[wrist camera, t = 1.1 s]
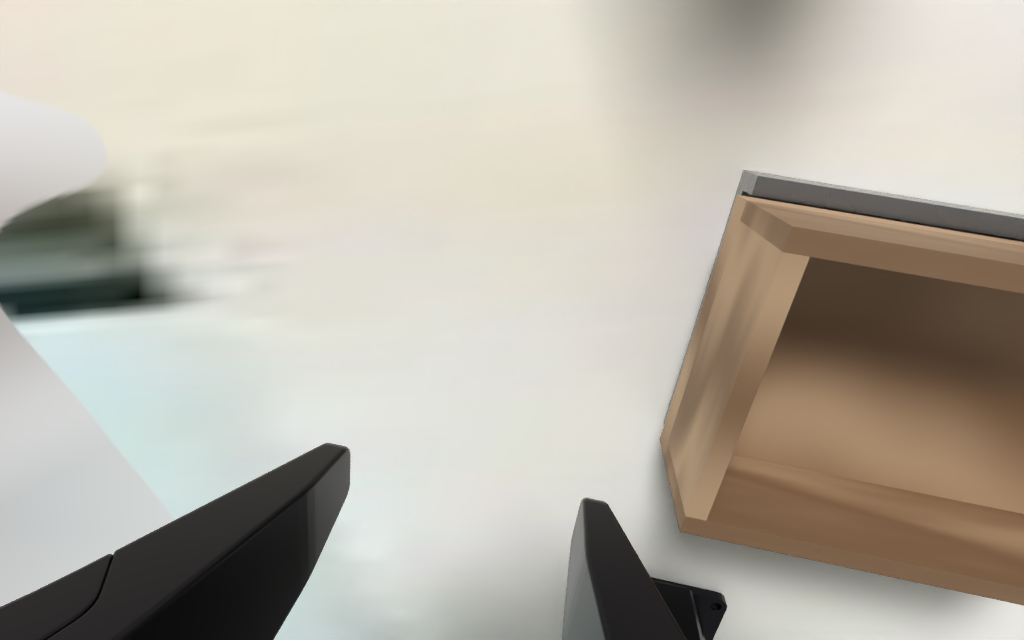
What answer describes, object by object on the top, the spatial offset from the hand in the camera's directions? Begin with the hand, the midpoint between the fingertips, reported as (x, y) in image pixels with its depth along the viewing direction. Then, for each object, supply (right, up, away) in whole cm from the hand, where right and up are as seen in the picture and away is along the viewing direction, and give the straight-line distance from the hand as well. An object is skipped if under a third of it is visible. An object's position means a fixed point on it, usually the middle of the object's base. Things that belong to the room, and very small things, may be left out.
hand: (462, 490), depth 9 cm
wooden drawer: (+14, +2, +10) cm, 17 cm away
